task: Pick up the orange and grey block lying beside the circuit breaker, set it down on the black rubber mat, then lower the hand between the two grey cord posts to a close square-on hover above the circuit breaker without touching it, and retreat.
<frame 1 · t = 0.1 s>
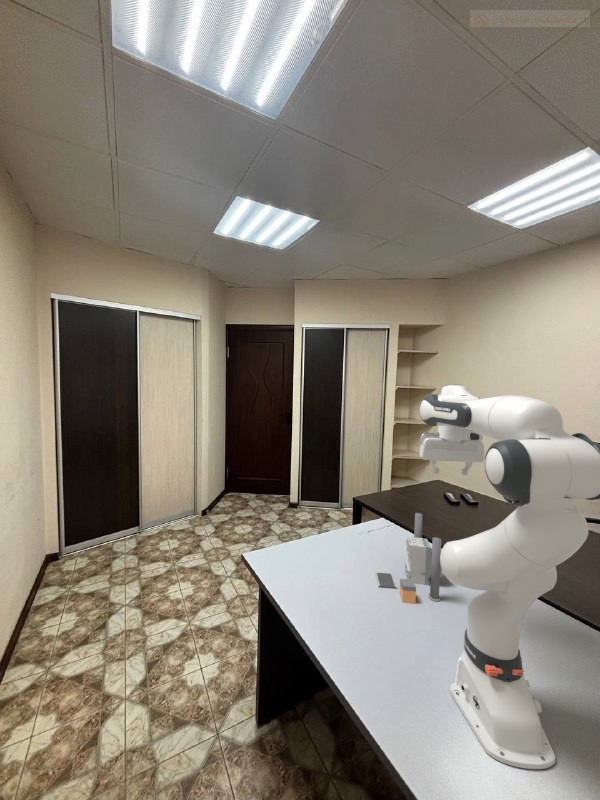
hand: (450, 473, 109), 48 cm above the table, fingers open, 8 cm apart
circuit breaker: (424, 579, 129), on the table
mat: (385, 580, 128), on the table
cord posts: (424, 579, 129), on the table
orange and grey block: (407, 598, 117), on the table
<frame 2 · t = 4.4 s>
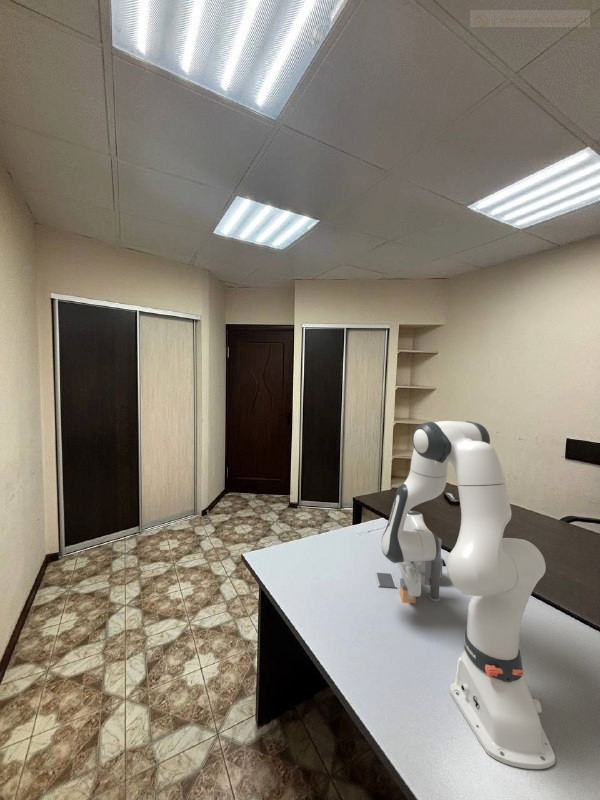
hand: (407, 592, 117), 2 cm above the table, fingers closed on orange and grey block, 4 cm apart
orange and grey block: (407, 598, 117), on the table, touching gripper
everything else where it was.
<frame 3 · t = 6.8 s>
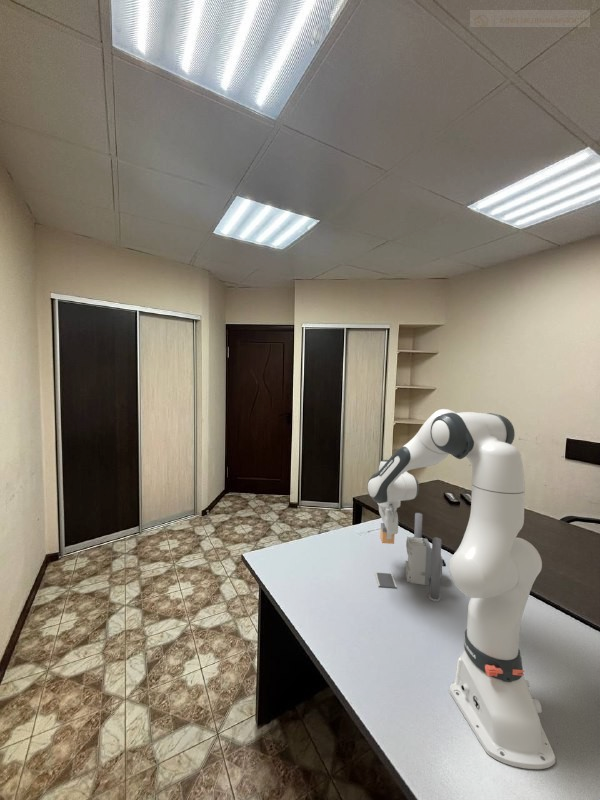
hand: (387, 534, 127), 19 cm above the table, fingers closed on orange and grey block, 4 cm apart
orange and grey block: (387, 540, 127), point 16 cm above the table, touching gripper
everything else where it was.
when the fingers open (4 cm above the table, at t = 9.7 s): orange and grey block drops 1 cm, resting on mat.
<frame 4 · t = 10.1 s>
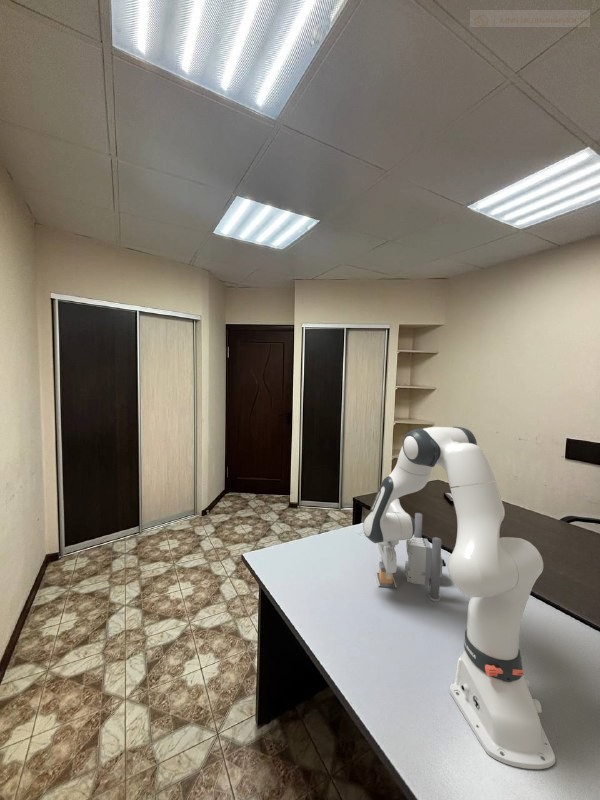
hand: (385, 570, 127), 4 cm above the table, fingers open, 8 cm apart
orange and grey block: (385, 579, 128), resting on mat
everything else where it was.
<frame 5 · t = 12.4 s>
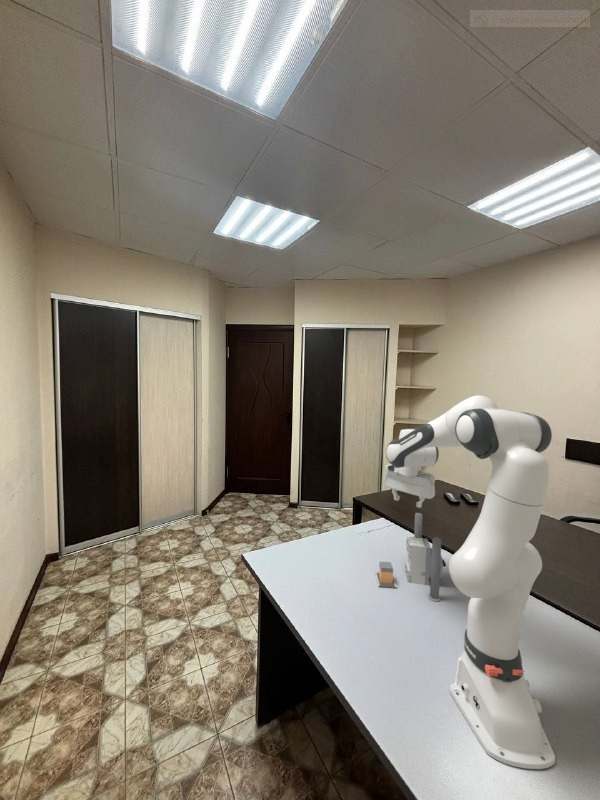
hand: (407, 503, 127), 31 cm above the table, fingers open, 8 cm apart
nothing on the table moved.
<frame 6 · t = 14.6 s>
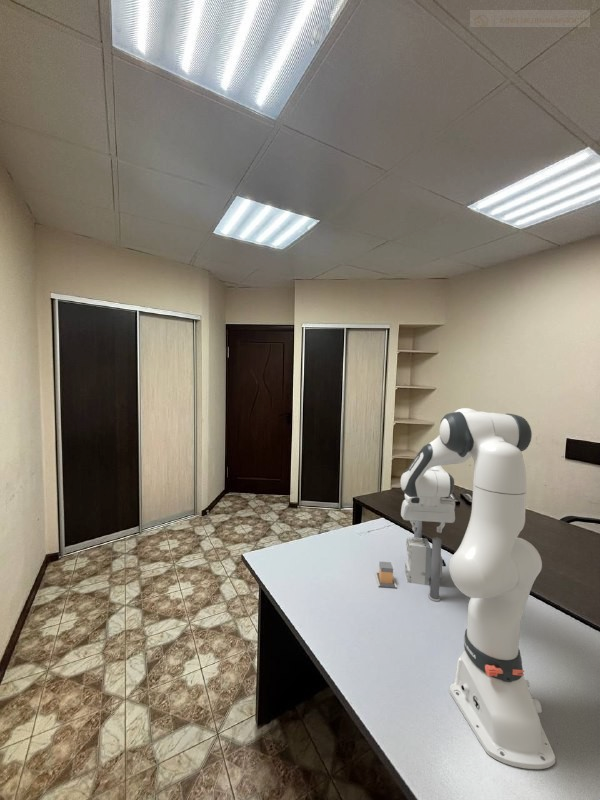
hand: (426, 531, 128), 20 cm above the table, fingers open, 8 cm apart
nothing on the table moved.
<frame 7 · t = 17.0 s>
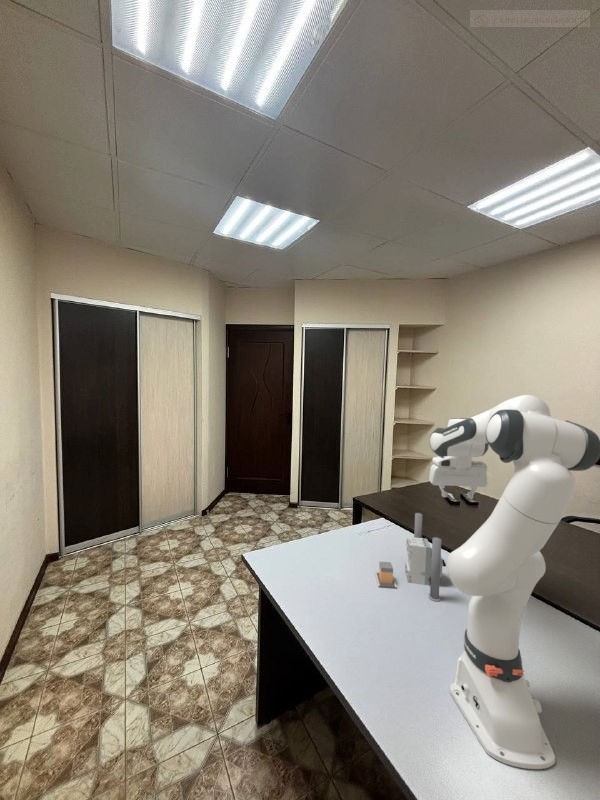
hand: (457, 497, 121), 36 cm above the table, fingers open, 8 cm apart
nothing on the table moved.
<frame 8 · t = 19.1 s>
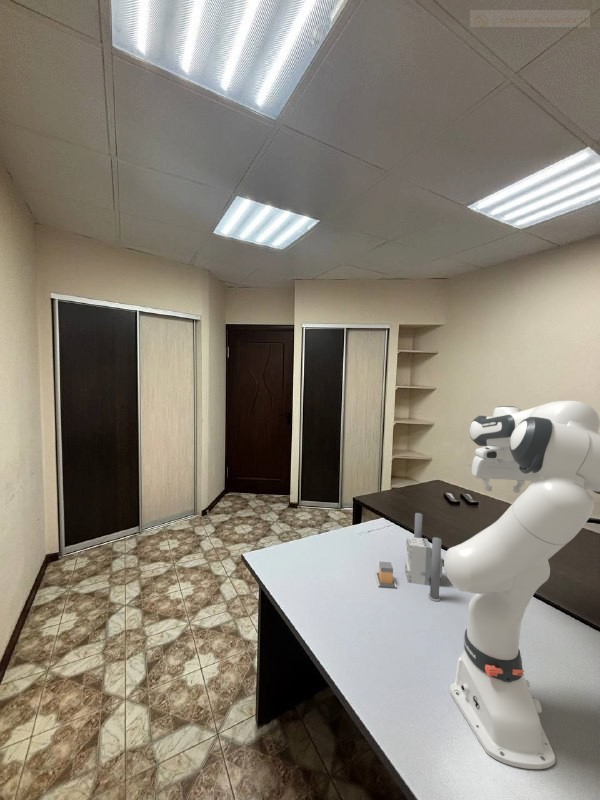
hand: (502, 491, 113), 41 cm above the table, fingers open, 8 cm apart
nothing on the table moved.
at the end: orange and grey block inside the target area on the mat (0.1 cm from its centre), point 0.5 cm above the mat's base; circuit breaker moved 0.2 cm from its start; the gripper is holding nothing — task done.
